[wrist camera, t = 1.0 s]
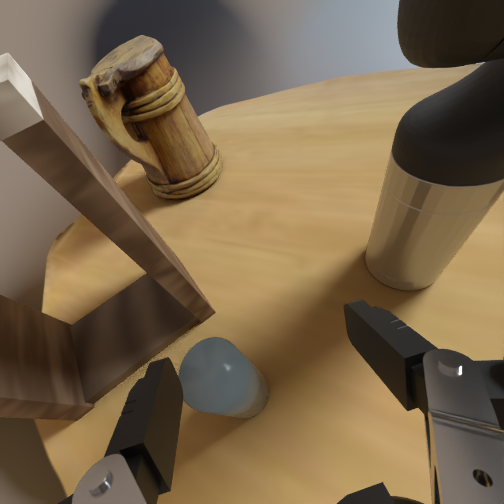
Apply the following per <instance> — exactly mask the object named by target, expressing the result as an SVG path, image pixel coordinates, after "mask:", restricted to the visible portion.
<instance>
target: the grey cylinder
mask: <svg viewBox="0 0 504 504" xmlns="http://www.w3.org/2000/svg"><path fill="white" fill-rule="evenodd" d="M178 378H179V380H180V382H181V385H182V389H183V399H184V401H185V402H186V403H187V404H188V405H189V406H190V407H191V408H193V409H195V410H197V411H200V412H207V413H213V414H219V415H225V416H231V417H238V418H244V419H245V418H251V417H254V416H256V415H257V414H259V413H260V412H261V411H262V409H263V408H264V406H265V405H266V402H267V399H268V393H269V389H268V383H267V380H266V378H265V376H264V375H263V373H262V372H261V371H260V370H259V369H258V368H257V367H256V366H255V365H254V364H253V363H251V362H250V361H249V360H248V359H247V358H246V357H245V356H244V355H243V354H242V353H241V352H240V351H239V350H238V349H237V348H236V347H235V346H234V345H233V344H232V343H231V342H229V341H228V340H226V339H223V338H218V337H213V338H207V339H204V340H202V341H200V342H199V343H197V344H196V345H194V346H193V347H192V348H191V349H190V350H189V352H188V353H187V354H186V356H185V357H184V359H183V361H182V364H181V366H180V370H179V377H178Z"/></svg>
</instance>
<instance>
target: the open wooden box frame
mask: <svg viewBox="0 0 504 504" xmlns="http://www.w3.org/2000/svg"><path fill="white" fill-rule="evenodd" d="M0 141H2V142H4V143H5V144H6V145H7V146H8V147H9V148H10V149H11V150H12V151H13V152H15V153H16V154H17V155H18V156H19V157H20V158H21V159H22V160H23V161H24V162H26V163H27V164H28V165H29V166H30V167H31V168H32V169H33V170H34V171H35V172H37V173H38V174H39V175H40V176H41V177H42V178H43V179H44V180H45V181H47V182H48V183H49V184H50V185H51V186H52V187H53V188H54V189H55V190H57V191H58V192H59V193H60V194H61V195H62V196H63V197H64V198H65V199H67V201H69V202H70V203H71V204H72V205H73V206H74V207H75V208H76V209H77V210H78V211H80V212H81V213H82V214H83V215H84V216H85V217H86V218H87V219H88V220H89V221H91V222H92V223H93V224H94V225H95V226H96V227H97V228H98V229H99V230H101V231H102V232H103V233H104V234H105V235H106V236H107V237H108V238H109V239H110V240H112V241H113V242H114V243H115V244H116V245H117V246H118V247H119V248H120V249H121V250H123V251H124V252H125V253H126V254H127V255H128V256H129V257H130V258H131V259H132V260H134V261H135V262H136V263H137V264H138V265H139V266H140V267H141V268H142V269H143V270H145V271H146V272H147V274H145V275H144V276H142V277H141V278H139V279H138V280H136V281H135V282H134V283H132V284H131V285H129V286H128V287H126V288H125V289H123V290H122V291H121V292H119V293H118V294H116V295H115V296H113V297H112V298H110V299H109V300H108V301H106V302H105V303H103V304H102V305H100V306H99V307H97V308H96V309H95V310H93V311H92V312H90V313H89V314H87V315H86V316H84V317H83V318H82V319H80V320H79V321H77V322H76V323H74V324H73V325H70V324H68V323H65V322H63V321H61V320H58V319H56V318H54V317H51V316H49V315H47V314H44V313H42V312H39V311H37V310H35V309H32V308H30V307H27V306H25V305H23V304H20V303H18V302H16V301H13V300H11V299H9V298H6V297H4V296H2V295H0V417H8V418H9V417H10V418H32V419H55V420H78V419H80V418H81V417H82V416H84V415H85V414H86V413H87V412H89V411H90V410H91V409H93V408H94V403H95V402H96V401H97V400H99V399H100V398H101V397H103V396H104V395H105V394H107V393H108V392H109V391H110V390H112V389H113V388H114V387H116V386H117V385H118V384H119V383H121V382H122V381H123V380H125V379H126V378H127V377H128V376H130V375H131V374H132V373H134V372H135V371H136V370H137V369H139V368H140V367H141V366H143V365H144V364H145V363H146V362H148V361H149V360H150V359H152V358H153V357H154V356H155V355H157V354H158V353H159V352H161V351H162V350H163V349H164V348H166V347H167V346H168V345H170V344H171V343H172V342H173V341H175V340H176V339H177V338H179V337H180V336H181V335H182V334H184V333H185V332H186V331H188V330H189V329H190V328H191V327H193V326H194V325H195V324H197V323H198V322H199V321H201V322H202V323H203V322H204V321H205V320H206V319H208V318H209V317H210V316H212V315H213V314H214V313H215V311H214V309H213V308H212V306H211V305H210V303H209V302H208V301H207V299H206V298H205V296H204V295H203V293H202V292H201V290H200V289H199V288H198V286H197V285H196V283H195V282H194V280H193V279H192V277H191V276H190V274H189V273H188V272H187V270H186V269H185V267H184V266H183V264H182V263H181V261H180V260H179V259H178V257H177V256H176V255H175V253H174V252H173V251H172V250H171V249H170V247H169V246H168V245H167V244H166V243H165V241H164V240H163V239H162V238H161V237H160V235H159V234H158V233H157V232H156V231H155V229H154V228H153V227H152V226H151V224H150V223H149V222H148V221H147V220H146V218H145V217H144V216H143V215H142V214H141V212H140V211H139V210H138V209H137V208H136V206H135V205H134V204H133V203H132V202H131V200H130V199H129V198H128V197H127V195H126V194H125V193H124V192H123V191H122V189H121V188H120V187H119V186H118V185H117V183H116V182H115V181H114V180H113V179H112V177H111V176H110V175H109V174H108V173H107V171H106V170H105V169H104V168H103V167H102V165H101V164H100V163H99V162H98V160H97V159H96V158H95V157H94V156H93V155H92V153H91V152H90V151H89V150H88V148H87V147H86V146H85V145H84V144H83V142H82V141H81V140H80V139H79V138H78V136H77V135H76V134H75V133H74V132H73V130H72V129H71V128H70V127H69V125H68V124H67V123H66V122H65V121H64V119H63V118H62V117H61V116H60V115H59V113H58V112H57V111H56V110H55V108H54V107H53V106H52V105H51V104H50V102H49V101H48V100H47V99H46V98H45V97H44V95H43V94H42V93H41V92H40V91H39V89H38V88H37V87H36V86H35V84H34V83H33V82H32V81H31V79H30V78H29V77H28V76H27V75H26V73H25V72H24V71H23V70H22V69H21V68H20V66H19V65H18V64H17V63H16V61H15V60H14V59H13V58H12V57H11V55H10V54H9V53H5V54H3V55H1V56H0Z"/></svg>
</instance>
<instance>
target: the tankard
mask: <svg viewBox="0 0 504 504" xmlns="http://www.w3.org/2000/svg"><path fill="white" fill-rule="evenodd" d="M79 85H80V87H81V88H82V96H83V98H84V99H85V100H86V103H87V105H88V108H89V109H90V112H91V114H92V115H93V117H94V118H95V120H96V122H97V123H98V125H99V127H100V128H101V129H102V131H103V132H104V133H105V135H106V136H107V137H108V139H109V140H110V141H111V143H113V144H114V145H115V146H116V147H117V148H118V149H119V150H120V151H121V152H122V153H123V154H125V155H126V156H128V157H129V158H131V159H132V160H134V161H136V162H138V163H140V164H142V166H143V168H144V170H145V172H146V179H147V181H148V183H149V184H150V186H151V188H152V190H153V192H154V194H155V195H157V196H158V197H161V198H166V199H184V198H188V197H191V196H194V195H196V194H198V193H200V192H202V191H204V190H206V189H207V188H209V187H210V186H211V185H212V184H213V183H214V182H215V180H216V179H217V178H218V176H219V175H220V173H221V170H222V160H221V159H222V157H221V153H220V151H219V150H218V148H217V146H216V145H215V144H214V143H213V142H212V141H211V140H210V139H209V137H208V135H207V133H206V131H205V129H204V128H203V126H202V124H201V122H200V121H199V119H198V117H197V115H196V113H195V112H194V110H193V108H192V106H191V104H190V103H189V101H188V99H187V97H186V94H185V87H184V85H183V83H182V81H181V79H180V77H179V76H178V73H177V71H176V69H175V68H173V67H171V66H170V64H169V63H168V61H167V59H166V57H165V55H164V54H163V46H162V45H161V44H160V43H159V42H158V41H157V40H156V39H153V38H150V37H146V36H144V35H141V36H139V37H136V38H134V39H132V40H130V41H128V42H126V43H124V44H122V45H120V46H119V47H117V48H116V49H114V50H113V51H112V52H110V53H109V54H108V55H107V56H105V57H104V58H103V59H102V60H101V61H100V62H99V63H98V64H97V65H96V66H95V67H94V68H93V70H92V72H91V75H90V76H89V77H88V78H85V79H82V80H80V82H79Z"/></svg>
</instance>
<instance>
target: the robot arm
mask: <svg viewBox="0 0 504 504" xmlns="http://www.w3.org/2000/svg"><path fill="white" fill-rule="evenodd" d="M397 24H398V25H397V26H398V27H397V28H398V39H399V44H400V47H401V50H402V52H403V54H404V56H405V57H406V58H407V59H408V61H409V62H410V63H412V64H414V65H417V66H419V67H424V68H450V67H459V66H464V65H469V64H476V63H481V62H485V63H484V64H483V65H481V66H480V67H479V68H477V69H476V70H475V71H473V72H472V73H471V74H469V75H468V76H466V77H464V78H463V79H461V80H460V81H458V82H456V83H454V84H453V85H451V86H449V87H447V88H445V89H443V90H441V91H439V92H437V93H435V94H433V95H431V96H429V97H427V98H425V99H423V100H422V101H420V102H418V103H417V104H415V105H414V106H413V107H412V108H410V109H409V110H408V111H407V112H406V113H405V115H404V116H403V117H402V119H401V120H400V122H399V124H398V127H397V130H396V133H395V137H394V141H393V145H392V150H391V154H390V158H389V162H388V166H387V170H386V174H385V178H384V182H383V186H382V190H381V194H380V198H379V202H378V206H377V210H376V214H375V218H374V222H373V226H372V230H371V234H370V238H369V242H368V246H367V250H366V255H365V262H366V265H367V268H368V270H369V271H370V273H371V274H372V275H373V276H374V277H375V278H376V279H377V280H378V281H380V282H381V283H383V284H385V285H387V286H389V287H392V288H395V289H399V290H407V291H408V290H418V289H423V288H425V287H427V286H429V285H431V284H432V283H433V282H435V281H436V279H437V278H438V277H439V275H440V274H441V273H442V271H443V270H444V269H445V268H446V266H447V265H448V264H449V263H450V261H451V260H452V259H453V257H454V256H455V255H456V253H457V252H458V251H459V249H460V248H461V247H462V246H463V244H464V243H465V242H466V240H467V239H468V238H469V236H470V235H471V234H472V232H473V231H474V230H475V228H476V227H477V226H478V225H479V223H480V222H481V221H482V219H483V218H484V217H485V215H486V214H487V213H488V211H489V210H490V209H491V207H492V206H493V205H494V204H495V202H496V201H497V200H498V198H499V197H500V195H501V194H502V193H503V191H504V0H400V1H399V10H398V22H397ZM344 313H345V320H346V327H347V333H348V337H349V339H350V341H351V343H352V345H353V346H354V347H355V349H356V350H357V351H358V352H359V354H360V355H361V356H362V357H363V358H364V360H365V361H366V362H367V363H368V364H369V366H370V367H371V368H372V369H373V370H374V372H375V373H376V374H377V375H378V376H379V378H380V379H381V380H382V381H383V382H384V384H385V385H386V386H387V387H388V389H389V390H390V391H391V392H392V393H393V395H394V396H395V397H396V398H397V399H398V401H399V402H400V403H401V404H402V405H403V407H404V408H405V409H406V410H407V411H410V410H412V409H415V408H419V409H420V410H421V411H422V412H423V414H424V422H425V432H426V442H427V452H428V462H429V472H430V484H431V500H432V504H504V359H503V360H488V361H473V360H471V359H470V358H469V357H467V356H465V355H463V354H461V353H459V352H456V351H453V350H448V349H438V348H437V347H435V346H434V345H433V344H431V343H430V342H429V341H427V340H426V339H425V338H423V337H422V336H421V335H420V334H418V333H417V332H416V331H414V330H413V329H412V328H410V327H409V326H407V325H406V324H405V323H404V322H402V321H401V320H399V319H398V318H397V317H396V316H395V315H393V314H392V313H391V312H389V311H387V310H384V309H382V308H379V307H374V308H372V307H371V306H369V305H368V304H367V303H366V302H365V301H363V300H362V299H360V300H356V301H353V302H350V303H346V304H344ZM182 404H183V389H182V385H181V382H180V380H179V378H178V375H177V373H176V371H175V368H174V366H173V364H172V362H171V360H170V358H168V357H167V358H164V359H161V360H157V361H154V362H151V363H150V364H149V365H148V368H147V371H146V374H145V377H144V378H141V379H139V380H138V381H137V382H136V384H135V385H134V386H133V388H132V389H131V390H130V392H129V395H128V397H127V400H126V402H125V406H124V408H123V410H122V413H121V416H120V418H119V420H118V423H117V425H116V428H115V430H114V433H113V435H112V438H111V440H110V443H109V446H108V448H107V451H106V453H105V456H104V458H103V459H101V460H99V461H98V462H97V463H96V464H94V465H93V466H92V467H91V468H90V469H89V470H88V471H87V472H86V474H85V475H84V476H83V477H82V479H81V480H80V482H79V484H78V485H77V487H76V489H75V492H74V494H72V495H71V496H69V497H68V498H66V499H65V500H63V501H61V502H60V503H58V504H157V499H158V495H160V494H163V493H166V492H169V491H171V484H172V476H173V469H174V462H175V455H176V448H177V440H178V433H179V426H180V419H181V412H182ZM337 504H424V503H421V502H419V501H416V500H412V499H409V498H404V497H398V496H390V494H389V493H388V491H387V489H386V487H385V485H384V484H383V482H382V483H379V484H376V485H373V486H371V487H368V488H365V489H362V490H360V491H357V492H354V493H351V494H349V495H346V496H345V497H344V498H343V499H342V500H341V501H339V502H338V503H337Z"/></svg>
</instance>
